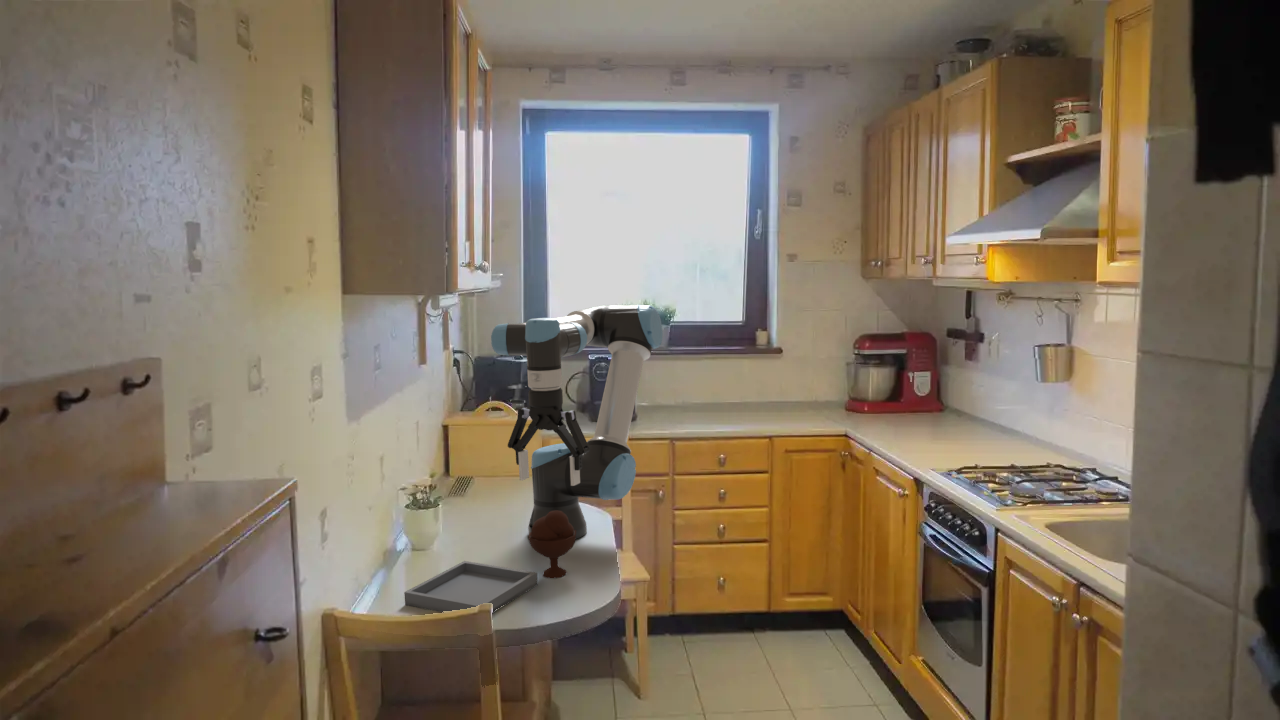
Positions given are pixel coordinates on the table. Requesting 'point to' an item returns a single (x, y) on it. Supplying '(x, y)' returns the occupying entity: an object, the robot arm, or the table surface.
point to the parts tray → (470, 587)
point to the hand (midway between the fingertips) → (549, 481)
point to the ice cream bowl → (552, 540)
